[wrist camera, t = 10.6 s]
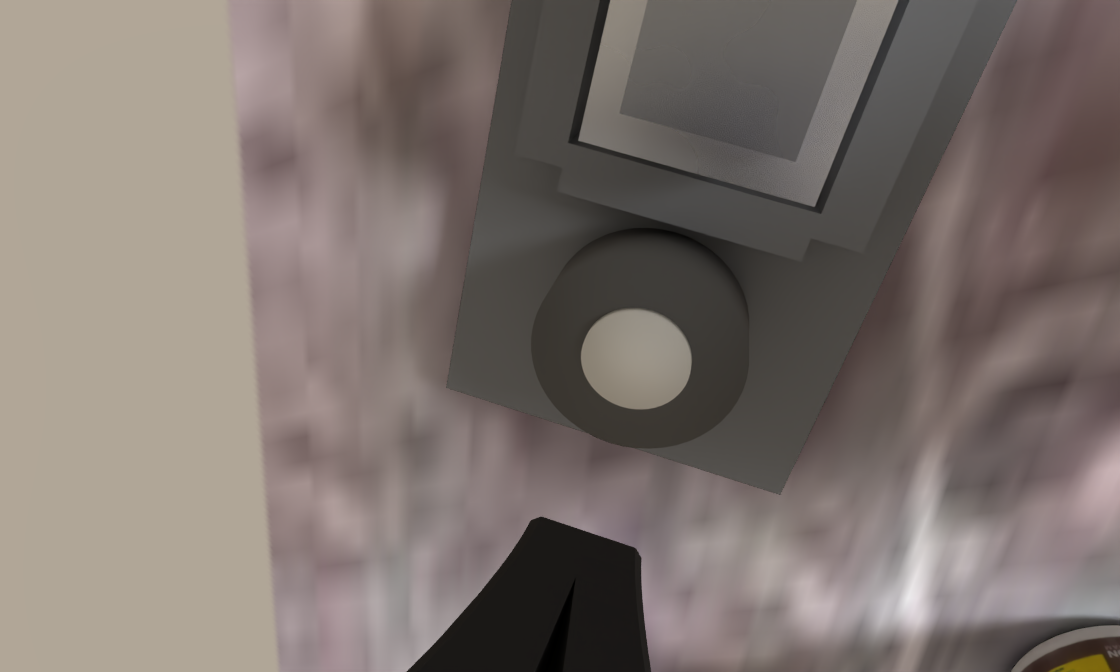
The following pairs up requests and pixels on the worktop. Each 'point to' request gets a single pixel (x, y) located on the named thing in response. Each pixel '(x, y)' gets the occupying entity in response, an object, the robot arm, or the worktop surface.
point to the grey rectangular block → (734, 86)
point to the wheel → (643, 339)
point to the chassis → (709, 219)
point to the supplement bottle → (1076, 652)
